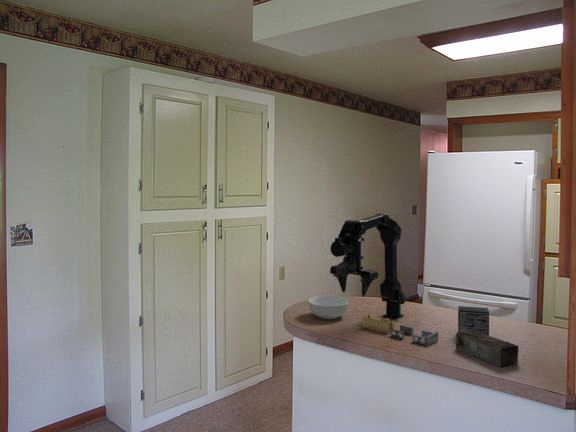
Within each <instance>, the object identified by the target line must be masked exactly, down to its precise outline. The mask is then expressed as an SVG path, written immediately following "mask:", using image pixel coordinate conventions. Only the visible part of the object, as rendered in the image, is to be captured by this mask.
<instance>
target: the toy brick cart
mask: <svg viewBox="0 0 576 432" xmlns="http://www.w3.org/2000/svg"><path fill="white" fill-rule="evenodd" d="M414 332H415V329H414V327H410V326H407V325H402V324H401V325H399V330H398V329H395V328H394V329H391V333H390V337H393V338H395V339H401V340H404V339H405V334H406V335H411V336H412V343H416V344H417V345H418V344H419V345H423V346H425V347H429V346H431V345H432V344H435V343H436V342H439V331H434V332H432V331H428V330H421V335H417V334H414Z"/></svg>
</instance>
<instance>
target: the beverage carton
mask: <svg viewBox="0 0 576 432" xmlns="http://www.w3.org/2000/svg"><path fill="white" fill-rule="evenodd" d="M455 333H456V335H455V339H456V340H455V349H456V350H458V351H461V352H463V353H466V354H468V355H470V356H473V357H475V358H477V359H479V360H482V361H484V362H487V363H490V364H492V365H494V366H497V367H499V368H504V367H510V366H514V365H517V364H519V363H518V362H519V345H516V344H515V343H514V344H513V343H512V342H510V341H505V340H503V339H500V338H497V337H493V336H490V335H489V336H488V335H485V334H482V333H480V332H477V331H474V330H468V331H464V330H462V331H461V332H458V331H457V332H455Z"/></svg>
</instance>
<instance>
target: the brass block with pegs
mask: <svg viewBox="0 0 576 432" xmlns="http://www.w3.org/2000/svg"><path fill="white" fill-rule="evenodd" d="M362 328H364V329H369V330H373V331H377V332H381V333H383V334H387V335H391V329H394V330H395V320H393V319H390V318H389V317H385V318H384V317H379V316H375V315H372V314H371V313H368V314H365V315H363V316H362Z"/></svg>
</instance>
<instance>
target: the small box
mask: <svg viewBox="0 0 576 432" xmlns="http://www.w3.org/2000/svg"><path fill="white" fill-rule="evenodd" d="M457 312H458V313H457V317H458V318H457V332H461V331H462V330H464V331H468V330H474V331H477V332H480V333H482V334H485V335H488V336H490V309H489V307H479V306H478V307H476V306H475V307H474V306H465V305H463V306H461V305H459V306H458V308H457Z"/></svg>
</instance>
